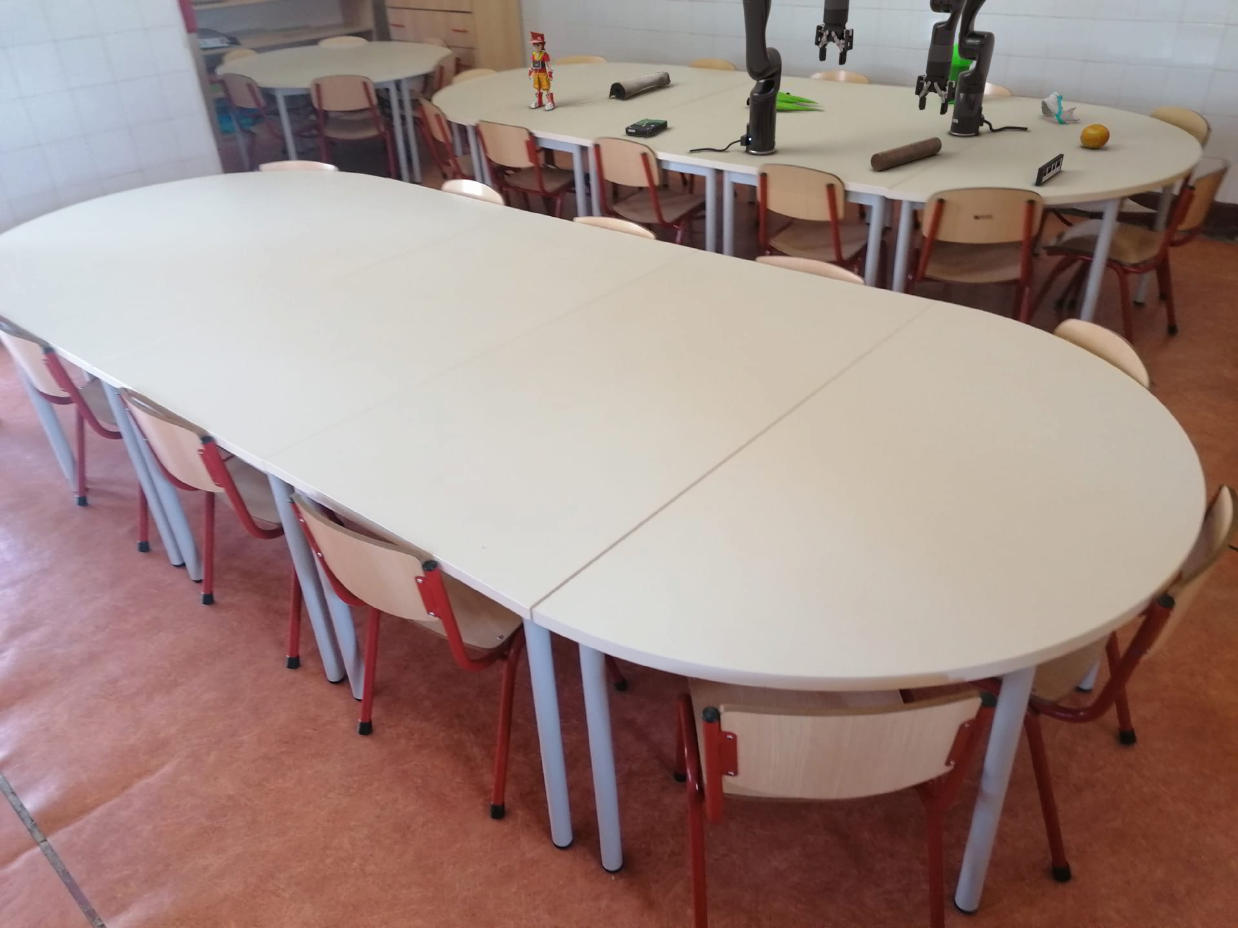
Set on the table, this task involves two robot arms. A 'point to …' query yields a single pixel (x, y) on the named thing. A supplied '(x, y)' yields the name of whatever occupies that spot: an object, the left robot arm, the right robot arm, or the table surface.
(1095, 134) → the fruit
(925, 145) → the rod
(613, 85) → the rolled mat
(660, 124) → the disk drive
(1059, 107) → the anatomical model
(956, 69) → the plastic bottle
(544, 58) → the toy
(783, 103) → the toy
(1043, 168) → the midi keyboard
